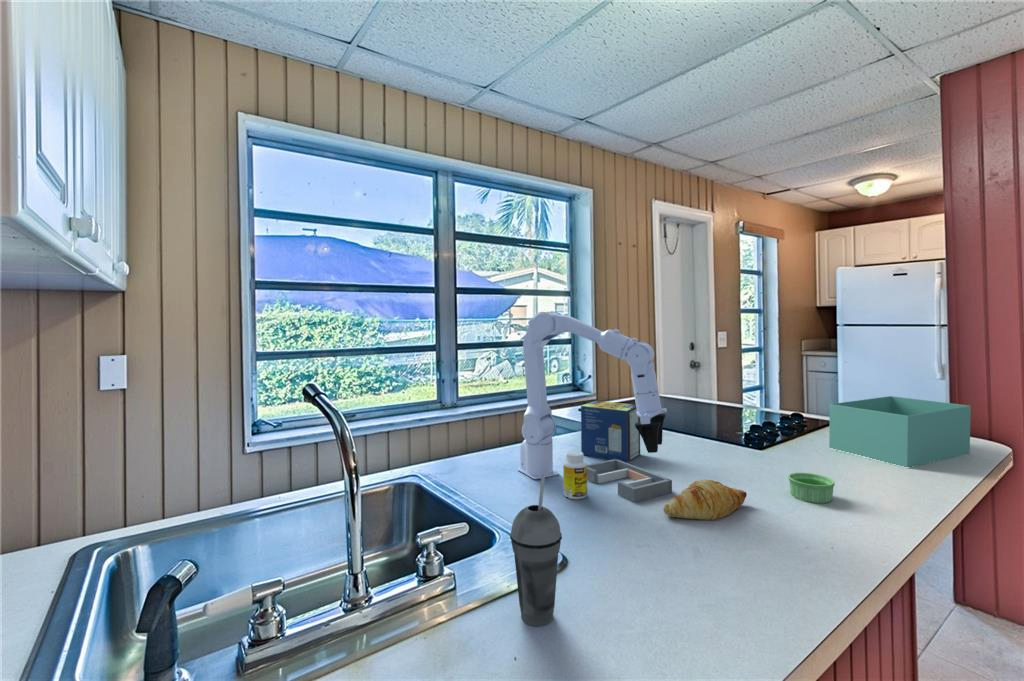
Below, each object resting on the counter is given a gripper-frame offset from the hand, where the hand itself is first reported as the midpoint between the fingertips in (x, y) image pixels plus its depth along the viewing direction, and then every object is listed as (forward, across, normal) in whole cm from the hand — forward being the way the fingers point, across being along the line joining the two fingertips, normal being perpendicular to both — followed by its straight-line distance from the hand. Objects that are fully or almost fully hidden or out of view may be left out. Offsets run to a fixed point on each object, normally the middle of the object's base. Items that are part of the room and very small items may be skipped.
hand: (655, 448), depth 111 cm
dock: (+9, +2, +9) cm, 13 cm away
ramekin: (+16, +10, -31) cm, 36 cm away
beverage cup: (+10, -55, +10) cm, 57 cm away
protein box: (+8, +26, +18) cm, 33 cm away
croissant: (+12, -8, -10) cm, 17 cm away
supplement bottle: (+8, -10, +18) cm, 22 cm away
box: (+20, +62, -60) cm, 89 cm away
